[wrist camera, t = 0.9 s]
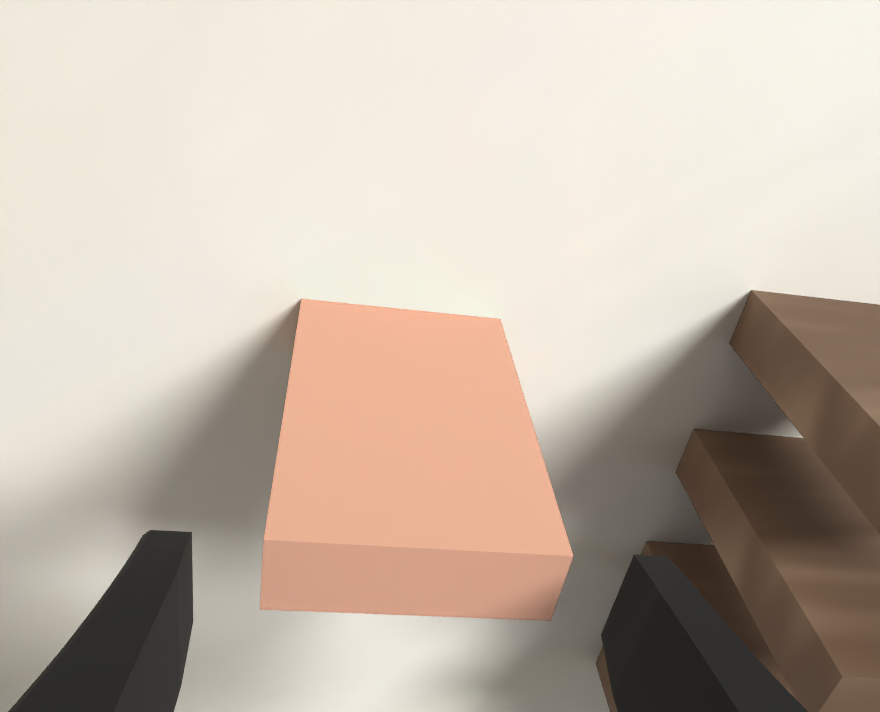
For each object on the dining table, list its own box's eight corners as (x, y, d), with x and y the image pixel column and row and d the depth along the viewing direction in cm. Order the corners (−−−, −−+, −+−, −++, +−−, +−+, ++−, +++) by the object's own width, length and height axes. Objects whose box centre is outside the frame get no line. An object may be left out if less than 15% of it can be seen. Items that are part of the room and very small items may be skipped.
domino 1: (646, 541, 24) (757, 800, 17) (790, 549, 25) (950, 800, 18) (631, 576, 25) (732, 836, 18) (771, 583, 26) (917, 834, 19)
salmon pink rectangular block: (301, 299, 18) (263, 539, 12) (500, 319, 19) (573, 556, 12) (297, 354, 19) (259, 609, 12) (488, 371, 20) (551, 620, 13)
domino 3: (693, 429, 22) (843, 677, 15) (850, 442, 22) (1059, 682, 16) (675, 471, 22) (809, 724, 16) (827, 483, 23) (1017, 728, 16)
